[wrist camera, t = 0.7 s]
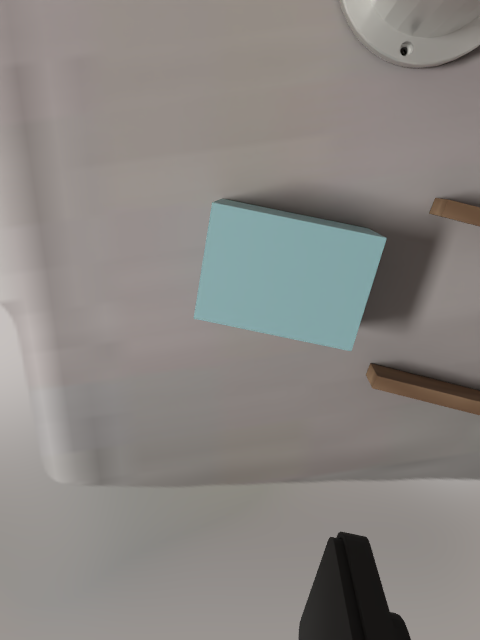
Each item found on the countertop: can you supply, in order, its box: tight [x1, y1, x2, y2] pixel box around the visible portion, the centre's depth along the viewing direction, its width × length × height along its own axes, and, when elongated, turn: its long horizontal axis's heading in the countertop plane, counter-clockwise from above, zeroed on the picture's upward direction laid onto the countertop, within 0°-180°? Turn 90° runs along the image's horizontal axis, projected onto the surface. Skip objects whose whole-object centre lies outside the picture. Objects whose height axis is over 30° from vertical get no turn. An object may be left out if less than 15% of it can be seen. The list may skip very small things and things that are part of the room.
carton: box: [194, 199, 387, 351], centre depth 31 cm, size 8×12×6 cm
